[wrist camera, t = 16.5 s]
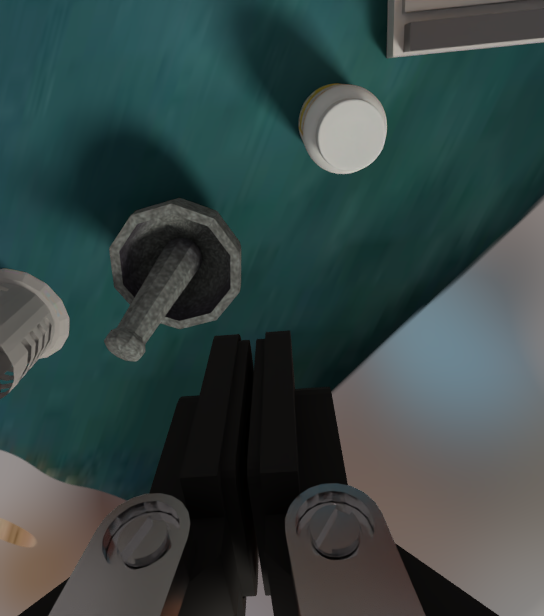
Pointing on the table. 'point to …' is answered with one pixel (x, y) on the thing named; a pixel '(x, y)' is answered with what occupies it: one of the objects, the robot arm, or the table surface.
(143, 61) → the table surface
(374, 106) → the supplement bottle
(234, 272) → the mortar and pestle
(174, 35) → the table surface
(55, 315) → the french press
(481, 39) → the breaker panel
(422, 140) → the table surface
